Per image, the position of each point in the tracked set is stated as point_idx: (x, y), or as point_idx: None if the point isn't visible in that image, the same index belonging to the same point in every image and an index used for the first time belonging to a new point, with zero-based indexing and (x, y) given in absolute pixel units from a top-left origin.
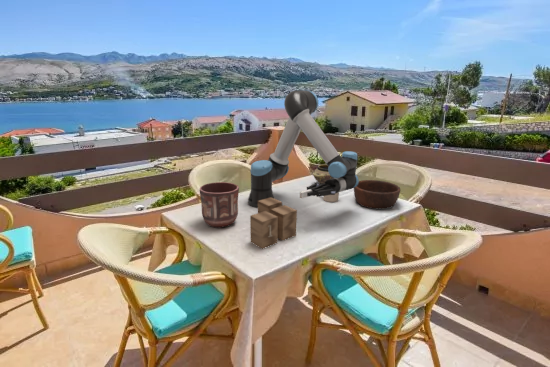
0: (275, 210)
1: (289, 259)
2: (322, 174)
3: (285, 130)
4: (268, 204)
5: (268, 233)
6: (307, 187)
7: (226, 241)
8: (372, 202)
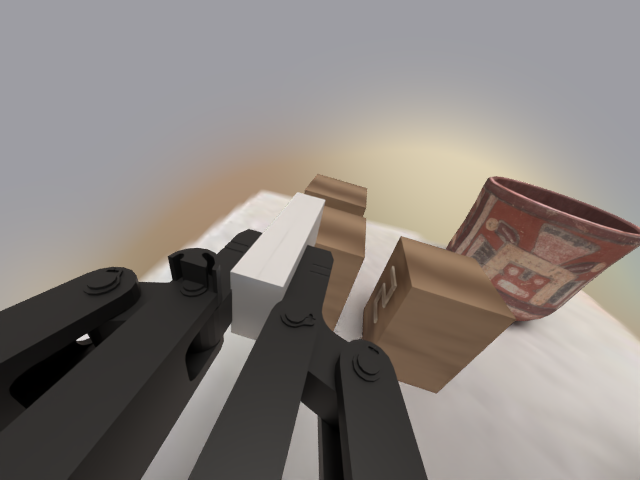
0: (346, 214)
1: (229, 223)
2: None
3: None
4: (413, 244)
5: None
6: (376, 354)
7: (379, 239)
8: None
